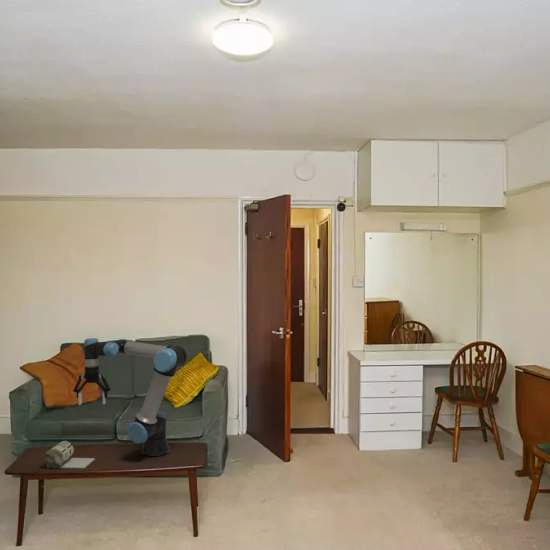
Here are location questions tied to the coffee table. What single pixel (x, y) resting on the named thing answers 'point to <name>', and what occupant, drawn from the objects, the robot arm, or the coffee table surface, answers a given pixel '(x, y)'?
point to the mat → (76, 463)
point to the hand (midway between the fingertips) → (92, 404)
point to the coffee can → (59, 454)
